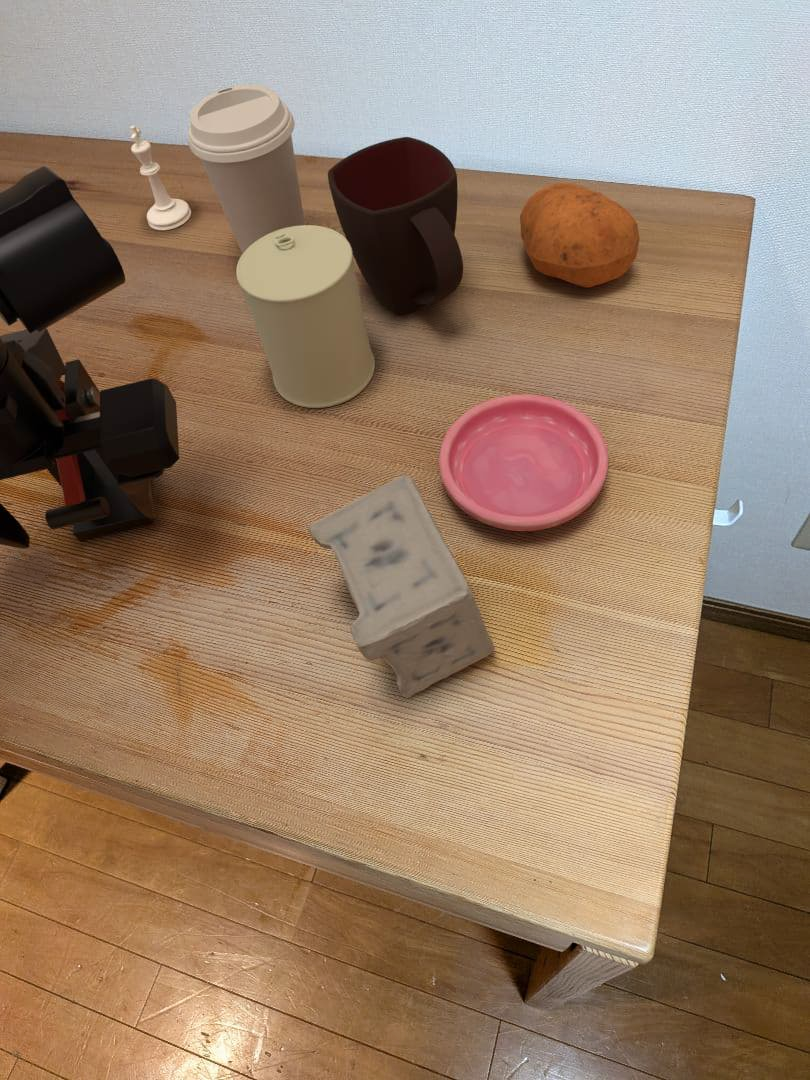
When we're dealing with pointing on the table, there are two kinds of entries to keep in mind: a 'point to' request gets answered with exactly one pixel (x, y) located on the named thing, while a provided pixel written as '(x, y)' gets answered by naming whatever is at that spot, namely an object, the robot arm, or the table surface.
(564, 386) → the table surface
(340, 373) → the can
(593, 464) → the saucer
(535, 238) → the potato
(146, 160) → the chess piece
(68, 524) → the lever
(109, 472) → the bracket
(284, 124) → the coffee cup
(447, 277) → the mug
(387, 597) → the incense holder
